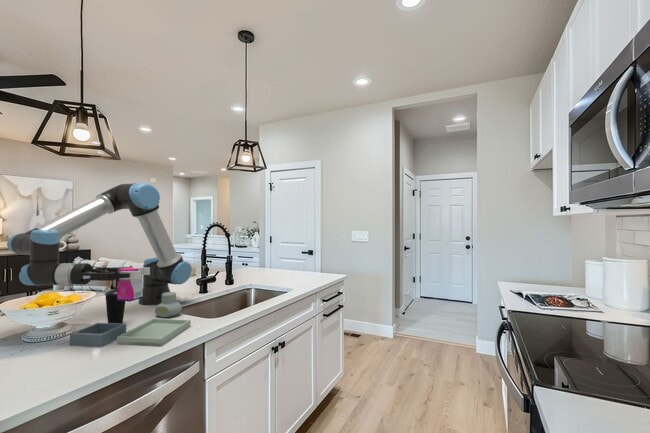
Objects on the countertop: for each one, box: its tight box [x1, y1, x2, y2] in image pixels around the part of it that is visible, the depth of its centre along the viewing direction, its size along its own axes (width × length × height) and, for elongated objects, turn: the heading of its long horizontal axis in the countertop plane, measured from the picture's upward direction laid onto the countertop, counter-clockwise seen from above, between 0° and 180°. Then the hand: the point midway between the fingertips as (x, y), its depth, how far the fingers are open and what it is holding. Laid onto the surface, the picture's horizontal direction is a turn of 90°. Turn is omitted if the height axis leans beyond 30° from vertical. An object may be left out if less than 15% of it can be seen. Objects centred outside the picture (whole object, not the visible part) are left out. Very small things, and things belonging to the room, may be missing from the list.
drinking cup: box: [104, 280, 126, 324], centre depth 124 cm, size 8×8×20 cm
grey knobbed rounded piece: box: [154, 291, 183, 319], centre depth 138 cm, size 11×8×10 cm
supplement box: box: [117, 266, 143, 303], centre depth 112 cm, size 6×6×12 cm
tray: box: [116, 318, 192, 347], centre depth 116 cm, size 20×16×2 cm
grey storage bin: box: [69, 322, 127, 348], centre depth 110 cm, size 12×12×4 cm
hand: (145, 273), depth 113 cm, fingers closed on supplement box, 7 cm apart
